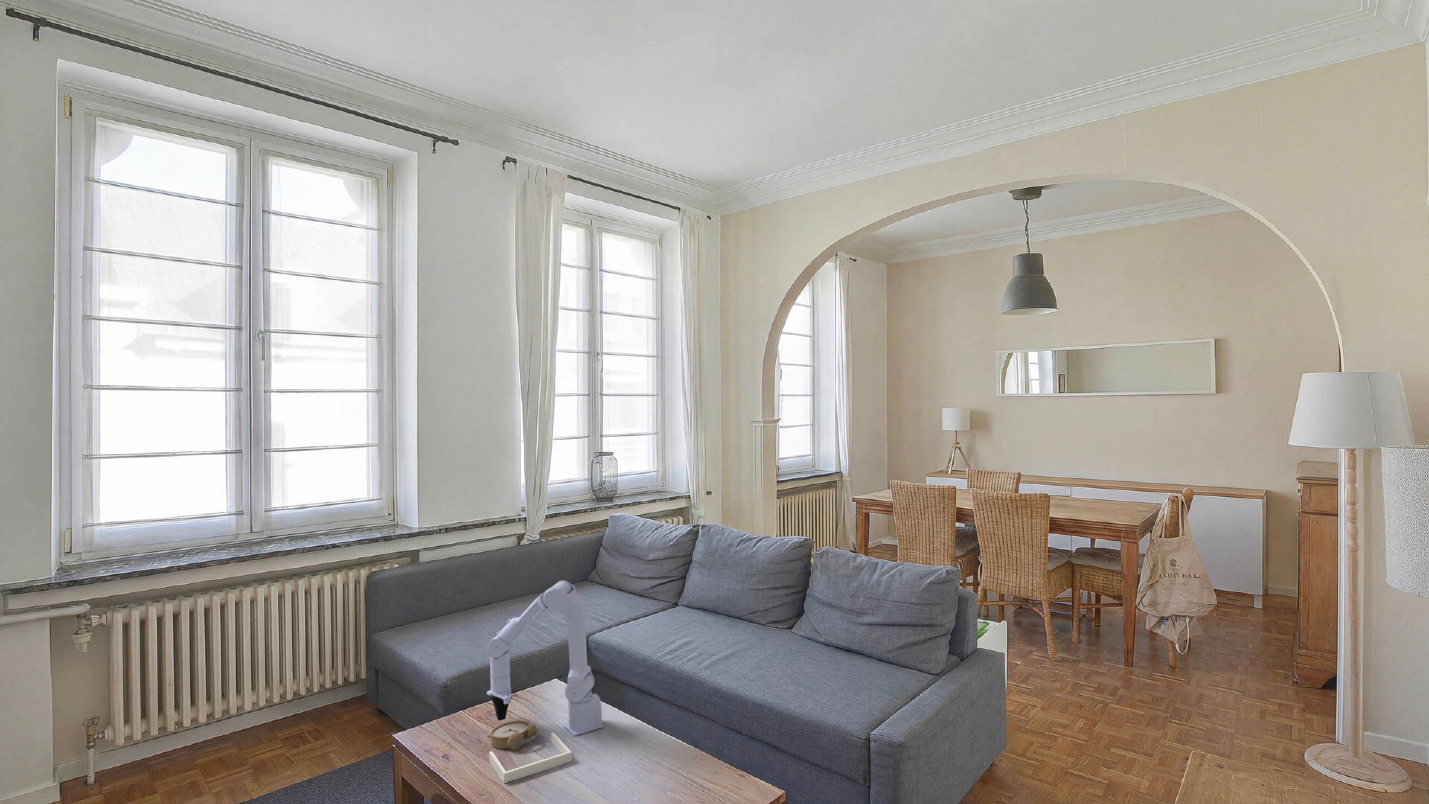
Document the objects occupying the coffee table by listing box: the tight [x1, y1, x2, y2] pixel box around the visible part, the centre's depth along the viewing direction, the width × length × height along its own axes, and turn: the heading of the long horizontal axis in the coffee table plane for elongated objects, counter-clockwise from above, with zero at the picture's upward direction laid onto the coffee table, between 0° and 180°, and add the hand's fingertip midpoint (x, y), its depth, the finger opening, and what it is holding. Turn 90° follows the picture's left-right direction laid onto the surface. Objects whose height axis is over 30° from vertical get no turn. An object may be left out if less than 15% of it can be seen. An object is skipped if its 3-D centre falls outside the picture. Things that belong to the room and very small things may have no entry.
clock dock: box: [488, 732, 573, 784], centre depth 191 cm, size 19×14×2 cm
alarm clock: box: [487, 720, 539, 751], centre depth 203 cm, size 11×5×15 cm
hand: (501, 719), depth 214 cm, fingers closed
